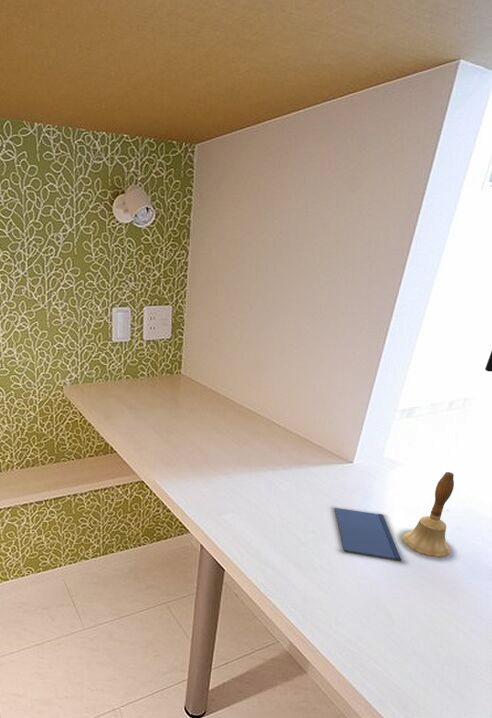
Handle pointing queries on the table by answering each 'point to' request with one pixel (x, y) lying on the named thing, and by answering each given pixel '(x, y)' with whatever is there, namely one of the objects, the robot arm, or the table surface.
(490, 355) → the robot arm
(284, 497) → the table surface
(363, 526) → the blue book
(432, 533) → the hand bell
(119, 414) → the table surface
